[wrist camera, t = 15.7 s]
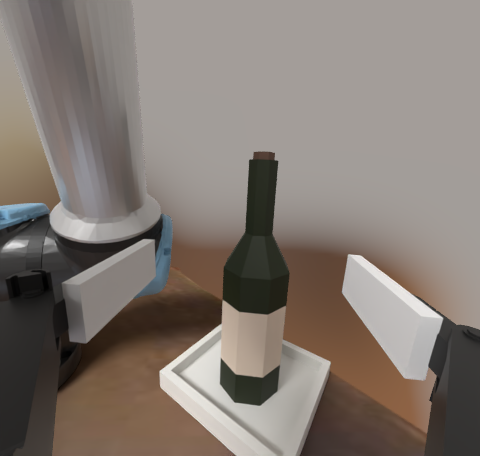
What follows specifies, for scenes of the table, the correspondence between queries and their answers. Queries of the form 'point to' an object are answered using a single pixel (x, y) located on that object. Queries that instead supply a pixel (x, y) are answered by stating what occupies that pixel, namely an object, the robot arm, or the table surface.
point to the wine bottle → (254, 296)
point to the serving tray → (244, 415)
